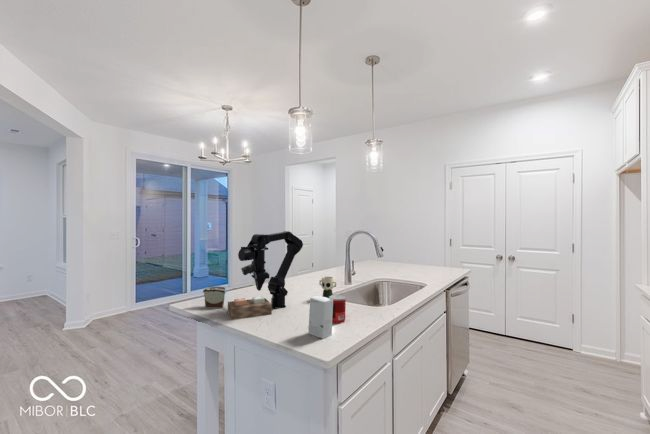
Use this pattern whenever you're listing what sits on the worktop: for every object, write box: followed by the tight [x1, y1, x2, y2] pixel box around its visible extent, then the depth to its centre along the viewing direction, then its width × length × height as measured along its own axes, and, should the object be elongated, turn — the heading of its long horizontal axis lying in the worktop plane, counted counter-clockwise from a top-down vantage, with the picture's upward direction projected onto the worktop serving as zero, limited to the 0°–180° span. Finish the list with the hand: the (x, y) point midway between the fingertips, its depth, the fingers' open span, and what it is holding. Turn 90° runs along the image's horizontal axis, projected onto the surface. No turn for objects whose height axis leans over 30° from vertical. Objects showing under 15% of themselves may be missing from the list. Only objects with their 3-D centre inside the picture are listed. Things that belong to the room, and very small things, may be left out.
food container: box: [202, 286, 227, 309], centre depth 160 cm, size 12×6×10 cm, turn 84°
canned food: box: [329, 294, 347, 324], centre depth 138 cm, size 8×8×11 cm
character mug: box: [318, 276, 337, 298], centre depth 174 cm, size 11×7×13 cm, turn 64°
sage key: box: [251, 295, 266, 304], centre depth 151 cm, size 5×5×4 cm
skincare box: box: [308, 295, 333, 340], centre depth 122 cm, size 8×6×15 cm
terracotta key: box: [233, 297, 247, 306], centre depth 147 cm, size 5×5×4 cm
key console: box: [227, 297, 273, 320], centre depth 149 cm, size 19×13×5 cm
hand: (258, 290), depth 151 cm, fingers open, 2 cm apart
